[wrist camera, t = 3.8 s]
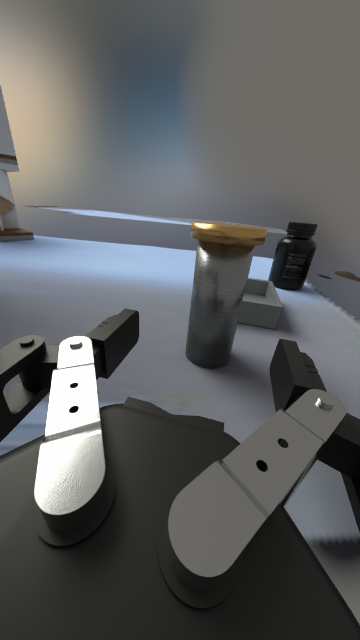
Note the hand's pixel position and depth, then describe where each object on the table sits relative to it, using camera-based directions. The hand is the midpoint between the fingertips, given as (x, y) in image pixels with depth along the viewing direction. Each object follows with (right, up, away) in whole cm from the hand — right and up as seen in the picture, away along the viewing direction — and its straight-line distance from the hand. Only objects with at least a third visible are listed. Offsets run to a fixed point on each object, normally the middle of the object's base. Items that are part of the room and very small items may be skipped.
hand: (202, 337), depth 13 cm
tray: (+7, +3, +21) cm, 23 cm away
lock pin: (+1, -2, +10) cm, 10 cm away
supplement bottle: (+21, +8, +33) cm, 40 cm away
